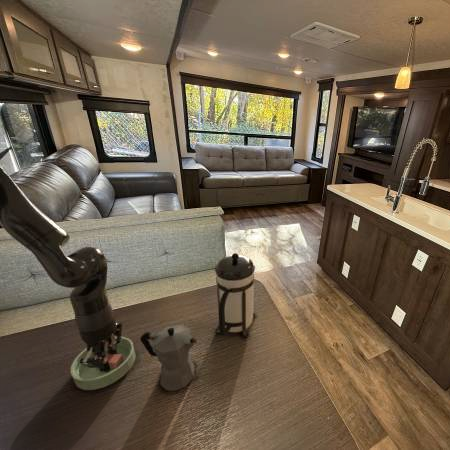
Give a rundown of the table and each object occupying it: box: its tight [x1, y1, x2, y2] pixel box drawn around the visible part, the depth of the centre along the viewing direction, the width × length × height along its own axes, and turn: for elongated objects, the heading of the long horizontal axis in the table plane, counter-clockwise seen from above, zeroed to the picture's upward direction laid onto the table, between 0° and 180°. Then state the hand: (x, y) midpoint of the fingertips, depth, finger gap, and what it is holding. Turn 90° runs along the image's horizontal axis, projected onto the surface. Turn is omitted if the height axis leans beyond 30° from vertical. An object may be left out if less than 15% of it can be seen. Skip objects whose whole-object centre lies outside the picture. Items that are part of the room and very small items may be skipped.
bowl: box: [70, 336, 137, 391], centre depth 71 cm, size 14×14×4 cm
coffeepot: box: [140, 324, 198, 392], centre depth 68 cm, size 15×9×18 cm, turn 86°
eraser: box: [96, 354, 124, 370], centre depth 71 cm, size 6×3×3 cm, turn 92°
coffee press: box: [214, 252, 256, 338], centre depth 84 cm, size 17×16×30 cm
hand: (109, 364), depth 72 cm, fingers closed on eraser, 2 cm apart
